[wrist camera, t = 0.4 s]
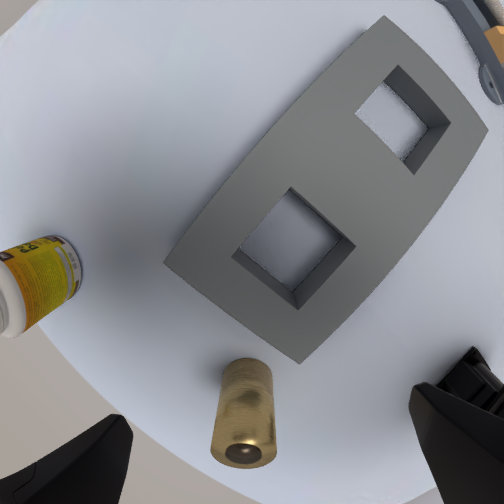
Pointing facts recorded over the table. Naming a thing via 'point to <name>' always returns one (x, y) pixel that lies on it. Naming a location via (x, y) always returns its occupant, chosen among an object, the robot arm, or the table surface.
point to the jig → (334, 192)
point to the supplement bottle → (35, 282)
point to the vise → (483, 40)
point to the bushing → (245, 416)
